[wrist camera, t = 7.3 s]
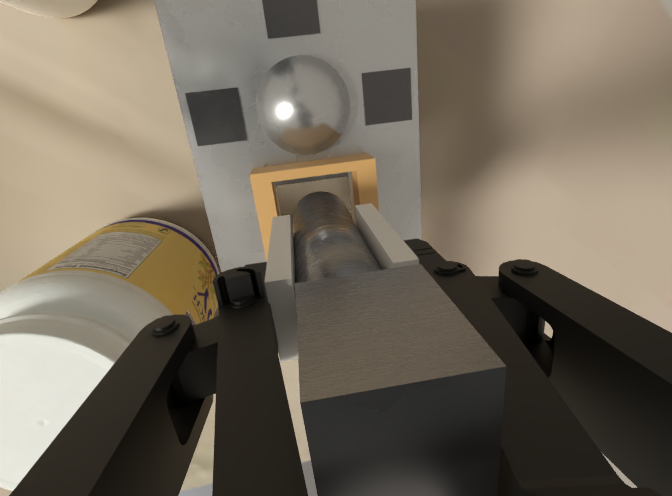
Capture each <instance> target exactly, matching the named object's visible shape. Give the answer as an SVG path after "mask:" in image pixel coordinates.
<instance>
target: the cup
mask: <svg viewBox="0 0 672 496" xmlns="http://www.w3.org/2000/svg"><path fill="white" fill-rule="evenodd" d="M97 1H98V0H0V3H2V4H5V5H8V6H11V7H14V8H17V9H19V10H22V11H25V12H28V13H31V14H35V15H38V16H43V17H48V18H69V17H74V16H77V15H79V14H82V13H83V12H85V11H87V10H88V9H90V8H91V7H92V6H93V5H94V4H95V3H96V2H97Z"/></svg>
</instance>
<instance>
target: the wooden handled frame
mask: <svg viewBox="0 0 672 496" xmlns="http://www.w3.org/2000/svg"><path fill="white" fill-rule="evenodd" d="M343 172H352V182H353V193H354V204H355V205H362V204H369V203H372V204H373V205H374V207H375V208H376V209H377V210H378V211H379V203H378V189H377V174H376V160H375V158H374V157H372V156H371V155H369V154H368V153H367V154H360V155H352V156H344V157H337V158H329V159H321V160H313V161H306V162H298V163H290V164H283V165H275V166H267V167H260V168H253V169H252V171H251V173H250V180H251V185H252V190H253V195H254V200H255V205H256V210H257V216H258V221H259V226H260V231H261V236H262V241H263V246H264V251H265V257H266V262H267V258H268V250H269V243H270V235H271V227H272V219H273V217H276V216H280V214H279V209H278V203H277V197H276V191H275V185H274V182H276V181H283V180H291V179H298V178H306V177H313V176H321V175H328V174H336V173H343ZM355 214H356V211H355ZM356 225H357V221H356Z"/></svg>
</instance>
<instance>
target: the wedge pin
mask: <svg viewBox="0 0 672 496" xmlns="http://www.w3.org/2000/svg"><path fill="white" fill-rule="evenodd" d="M292 223H293V238H294V260H295V281H296V283H295V292H296V315H297V338H298V361H299V383H300V403H301V409H302V414H303V419H304V425H305V430H306V435H307V441H308V446H309V452H310V457H311V462H312V467H313V473H314V478H315V484H316V489H317V494H318V496H497V491H498V477H499V463H500V449H501V435H502V420H503V406H504V392H505V378H506V365H505V364H504V363H503V362H502V360H501V359H500V358H499V357H498V356H497V354H496V353H495V352H494V351H493V350H492V348H491V347H490V346H489V345H488V344H487V342H486V341H485V340H484V339H483V338H482V337H481V335H480V334H479V333H478V332H477V331H476V329H475V328H474V327H473V326H472V325H471V323H470V322H469V321H468V320H467V319H466V317H465V316H464V315H463V314H462V313H461V311H460V310H459V309H458V308H457V307H456V305H455V304H454V303H453V302H452V301H451V299H450V298H449V297H448V296H447V295H446V294H445V292H444V291H443V290H442V289H441V288H440V286H439V285H438V284H437V283H436V282H435V280H434V279H433V278H432V277H431V276H430V274H429V273H428V272H427V271H426V270H425V268H424V267H423V266H422V265H421V264H418V265H412V266H405V267H398V268H392V269H385V270H382V269H381V268H380V266H379V264H378V262H377V261H376V259H375V257H374V255H373V254H372V252H371V250H370V248H369V247H368V245H367V243H366V241H365V240H364V238H363V236H362V234H361V233H360V231H359V229H358V227H357V226H356V224H355V222H354V220H353V219H352V217H351V215H350V213H349V212H348V210H347V208H346V206H345V205H344V203H343V202H342V201H341V200H340V199H339V198H338V197H337V196H335V195H333V194H331V193H328V192H314V193H311V194H308V195H306V196H305V197H303V198H302V199H301V200H300V201H299V202H298V203H297V205H296V207H295V209H294V212H293V216H292Z"/></svg>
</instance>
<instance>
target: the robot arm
mask: <svg viewBox="0 0 672 496" xmlns="http://www.w3.org/2000/svg"><path fill="white" fill-rule="evenodd" d="M355 211H356V221H357V227H358V229H359V231H360V233H361V234H362V236H363V238H364V240H365V241H366V243H367V245H368V247H369V248H370V250H371V252H372V254H373V255H374V257H375V259H376V261H377V262H378V264H379V266H380V268H381V269H382V270H385V269H392V268H398V267H405V266H412V265H418V264H421V265H422V266H423V267H424V268H425V270H426V271H427V272H428V273H429V274H430V276H431V277H432V278H433V279H434V280H435V282H436V283H437V284H438V285H439V286H440V288H441V289H442V290H443V291H444V292H445V294H446V295H447V296H448V297H449V298H450V299H451V301H452V302H453V303H454V304H455V305H456V307H457V308H458V309H459V310H460V311H461V313H462V314H463V315H464V316H465V317H466V319H467V320H468V321H469V322H470V323H471V325H472V326H473V327H474V328H475V329H476V331H477V332H478V333H479V334H480V335H481V337H482V338H483V339H484V340H485V341H486V342H487V344H488V345H489V346H490V347H491V348H492V350H493V351H494V352H495V353H496V354H497V356H498V357H499V358H500V359H501V360H502V362H503V363H504V364H505V365H506V378H505V392H504V406H503V420H502V435H501V449H500V463H499V477H498V491H497V496H672V333H671V332H669V331H667V330H665V329H663V328H661V327H659V326H657V325H656V324H654V323H652V322H650V321H648V320H646V319H644V318H642V317H641V316H639V315H637V314H635V313H633V312H631V311H629V310H627V309H626V308H624V307H622V306H620V305H618V304H616V303H614V302H612V301H611V300H609V299H607V298H605V297H603V296H601V295H599V294H597V293H596V292H594V291H592V290H590V289H588V288H586V287H584V286H582V285H581V284H579V283H577V282H575V281H573V280H571V279H569V278H567V277H566V276H564V275H562V274H560V273H558V272H556V271H554V270H552V269H550V268H549V267H547V266H545V265H542V264H540V263H537V262H532V261H530V260H522V259H518V260H515V261H508V262H505V263H503V264H501V265H500V266H499V276H475V275H474V274H473V272H472V271H471V270H470V268H468V267H467V266H466V265H464V264H461V263H459V262H452V261H446V260H445V259H443V258H442V257H441V256H440V255H439V254H438V253H437V252H436V251H435V250H434V249H432V247H431V246H430V245H429V244H428V243H427V242H425V241H423V240H420V239H417V238H416V239H410V240H402V238H401V237H400V236H399V235H398V234H397V232H396V231H395V230H394V229H393V228H392V227H391V225H390V224H389V223H388V222H387V221H386V220H385V218H384V217H383V216H382V215H381V214H380V213H379V211H378V210H377V209H376V208H375V207H374V205H373V204H372V203H369V204H362V205H355ZM212 282H213V286H214V290H215V294H216V298H217V302H218V306H219V315H218V316H217V317H215V318H213V319H210V320H208V321H205V322H202V323H199V324H196V325H192V322H191V319H190V318H189V317H188V316H186V315H183V314H180V315H170V316H168V315H166V316H163V317H161V318H157V319H155V320H154V321H153V322H151V323H149V324H147V325H146V326H145V327H144V328H143V329H142V330H141V331H140V332H139V333H138V334H137V336H136V337H135V338H134V339H133V341H132V342H131V343H130V344H129V346H128V347H127V348H126V349H125V351H124V352H123V353H122V354H121V356H120V357H119V358H118V359H117V361H116V362H115V363H114V364H113V366H112V367H111V368H110V370H109V371H108V372H107V373H106V375H105V376H104V377H103V378H102V380H101V381H100V382H99V383H98V385H97V386H96V387H95V388H94V390H93V391H92V392H91V393H90V395H89V396H88V397H87V398H86V400H85V401H84V402H83V404H82V405H81V406H80V407H79V409H78V410H77V411H76V412H75V414H74V415H73V416H72V417H71V419H70V420H69V421H68V422H67V424H66V425H65V426H64V427H63V429H62V430H61V431H60V432H59V434H58V435H57V436H56V438H55V439H54V440H53V441H52V443H51V444H50V445H49V446H48V448H47V449H46V450H45V451H44V453H43V454H42V455H41V456H40V458H39V459H38V460H37V461H36V463H35V464H34V465H33V466H32V468H31V469H30V470H29V471H28V473H27V474H26V475H25V477H24V478H23V479H22V480H21V482H20V483H19V484H18V485H17V487H16V488H15V489H14V490H13V492H12V493H11V494H10V495H9V496H178V495H179V492H180V490H181V487H182V484H183V481H184V479H185V476H186V473H187V471H188V468H189V465H190V462H191V460H192V457H193V454H194V452H195V449H196V446H197V443H198V441H199V438H200V435H201V432H202V430H203V427H204V424H205V422H206V419H207V416H208V413H209V411H210V408H211V405H212V403H213V394H215V393H216V409H215V438H214V466H213V495H212V496H308V494H307V488H306V484H305V479H304V474H303V470H302V465H301V460H300V456H299V451H298V446H297V442H296V437H295V432H294V428H293V423H292V418H291V414H290V409H289V404H288V400H287V395H286V390H285V386H284V381H283V376H282V372H281V367H280V362H282V361H288V360H294V359H298V338H297V315H296V292H295V283H296V281H295V260H294V238H293V231H292V225H291V219H290V215H284V216H276V217H273V219H272V227H271V235H270V243H269V250H268V258H267V262H261V263H255V264H248V265H245V266H244V267H237V268H233V269H229V270H226V271H224V272H222V273H220V274H219V275H217V276H216V277H215V278H214V279H213V281H212ZM545 321H546V322H547V323H548V324H549V325H550V326H551V327H552V329H553V336H552V338H550V337H548V336H547V335H546V334H544V326H545ZM278 352H279V357H280V362H279V358H278ZM601 452H602V453H603V454H604V455H605V456H606V457H607V458H608V459H609V460H610V461H611V462H612V463H613V464H614V465H615V466H616V467H617V468H619V470H621V472H622V473H623V474H624V475H625V476H627V478H628V479H630V480H631V481H632V482H633V483H634V484H635V485H636V486H637V487H638V488H631V487H629V486H628V485H626V484H625V483H624V482H623V481H622V480H621V479H620V478H619V476H618V475H617V474H616V472H615V471H614V470H613V468H612V467H611V465H610V464H609V463H608V461H607V460H606V458H605V457H604V456H603V454H602V453H601Z"/></svg>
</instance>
